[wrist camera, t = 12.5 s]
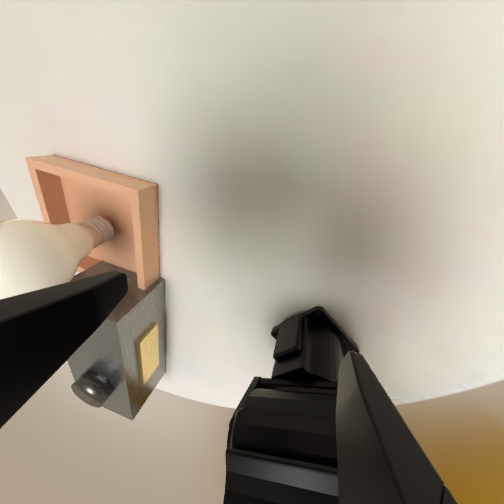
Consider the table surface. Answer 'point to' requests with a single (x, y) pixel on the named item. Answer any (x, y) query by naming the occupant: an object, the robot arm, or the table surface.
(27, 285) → the lightbulb
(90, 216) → the dish
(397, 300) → the table surface
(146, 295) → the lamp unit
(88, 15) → the table surface
